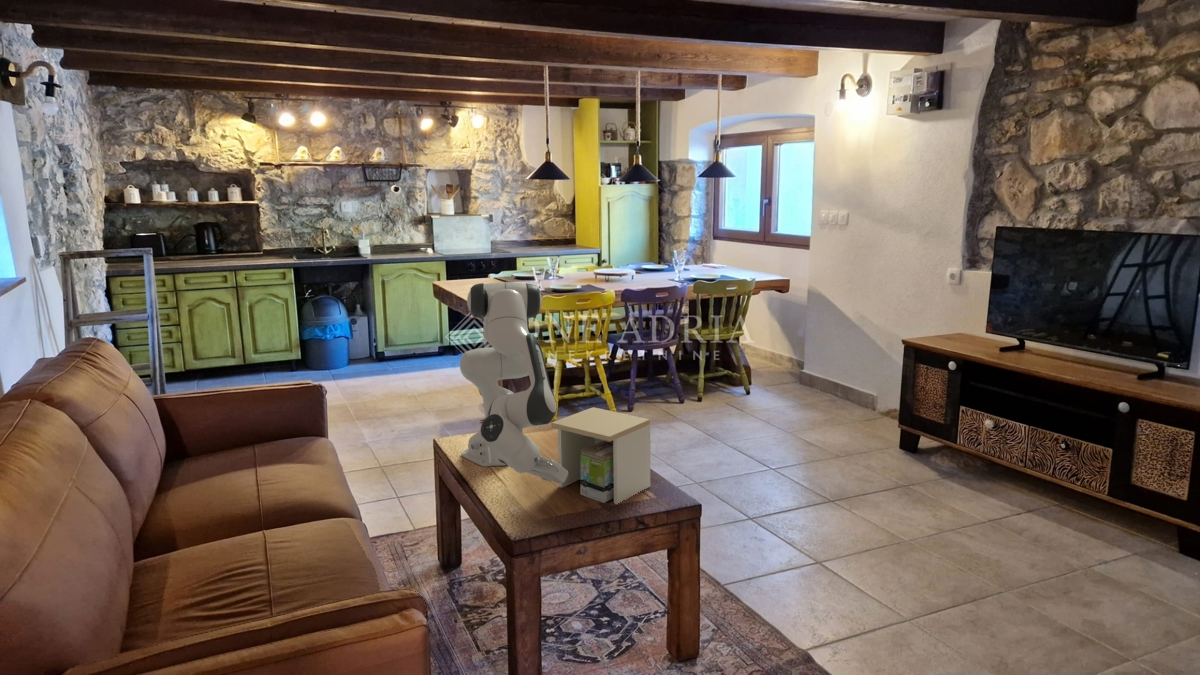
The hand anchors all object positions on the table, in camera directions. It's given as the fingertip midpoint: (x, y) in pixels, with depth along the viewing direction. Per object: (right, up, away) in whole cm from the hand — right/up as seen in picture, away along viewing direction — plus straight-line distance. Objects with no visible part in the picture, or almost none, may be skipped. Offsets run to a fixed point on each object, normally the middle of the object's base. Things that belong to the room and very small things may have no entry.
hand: (548, 478), depth 213 cm
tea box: (+17, -8, +17) cm, 25 cm away
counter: (+15, -7, +20) cm, 26 cm away
